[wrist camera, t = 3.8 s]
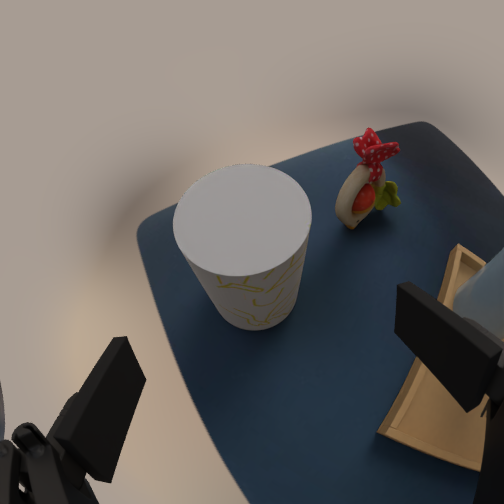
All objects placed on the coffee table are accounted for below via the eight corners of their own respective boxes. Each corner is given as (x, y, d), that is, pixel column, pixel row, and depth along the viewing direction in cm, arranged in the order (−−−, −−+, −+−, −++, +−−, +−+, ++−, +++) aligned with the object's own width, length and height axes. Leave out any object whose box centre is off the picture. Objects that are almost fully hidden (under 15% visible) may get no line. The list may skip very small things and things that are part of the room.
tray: (499, 477, 11) (509, 478, 9) (376, 432, 18) (384, 434, 17) (545, 324, 19) (554, 319, 17) (449, 252, 26) (458, 243, 24)
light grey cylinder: (240, 346, 24) (211, 305, 13) (199, 277, 27) (155, 201, 17) (314, 299, 25) (340, 226, 15) (267, 238, 29) (261, 148, 19)
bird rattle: (366, 252, 30) (408, 194, 29) (370, 222, 20) (424, 144, 19) (325, 220, 32) (368, 166, 31) (308, 178, 22) (366, 110, 21)
